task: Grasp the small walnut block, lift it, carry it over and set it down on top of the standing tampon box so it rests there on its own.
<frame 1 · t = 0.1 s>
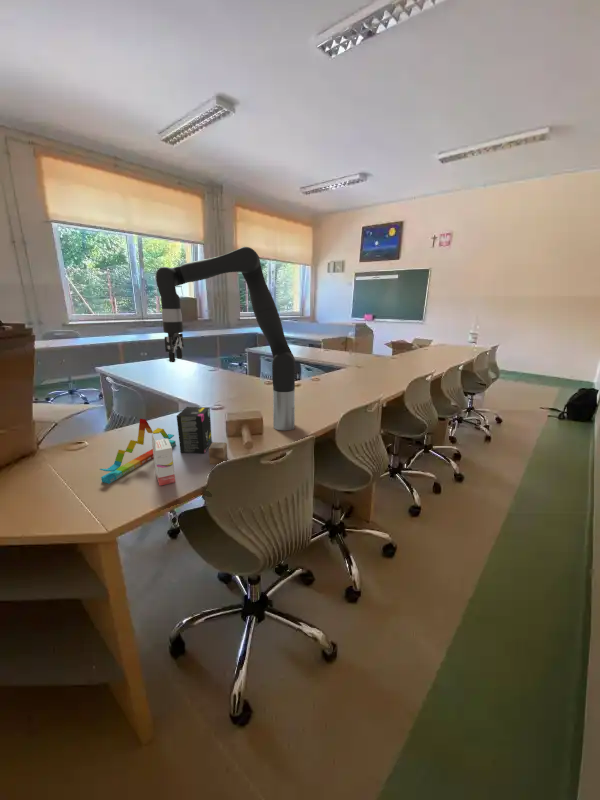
hand: (176, 360, 142), 29 cm above the table, fingers open, 8 cm apart
ink cartridge box: (165, 478, 107), on the table
chart: (143, 462, 118), on the table
walnut block: (218, 461, 119), on the table
tampon box: (196, 447, 129), on the table
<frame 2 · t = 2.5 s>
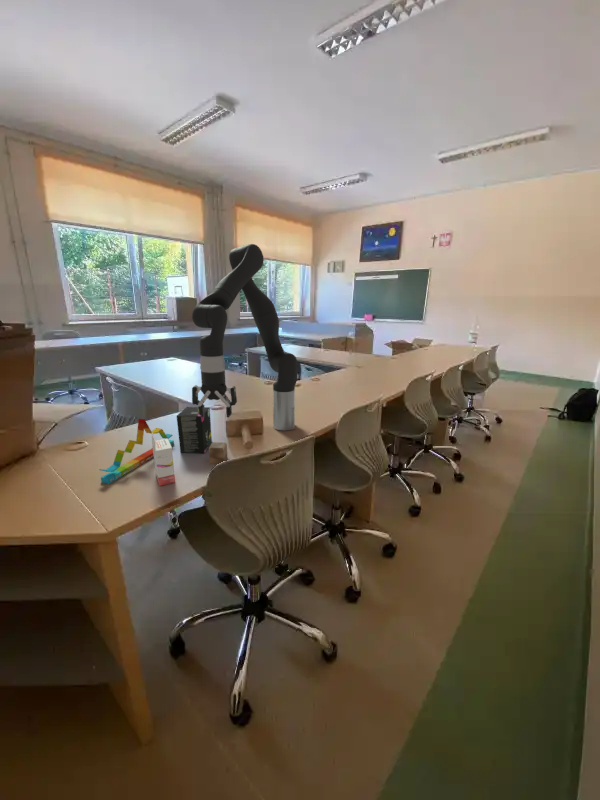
hand: (215, 416, 114), 17 cm above the table, fingers open, 8 cm apart
nothing on the table moved.
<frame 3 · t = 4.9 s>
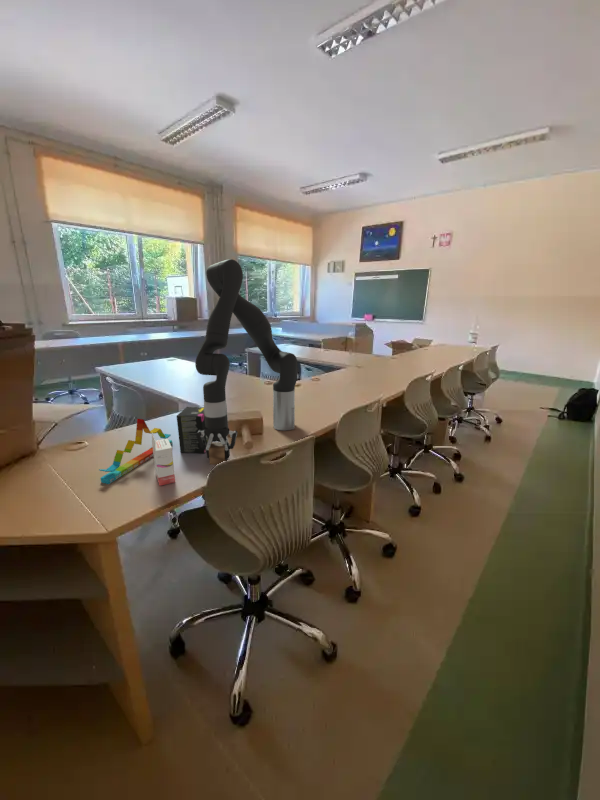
hand: (218, 458, 118), 1 cm above the table, fingers closed on walnut block, 5 cm apart
walnut block: (218, 461, 119), on the table, touching gripper
everything else where it was.
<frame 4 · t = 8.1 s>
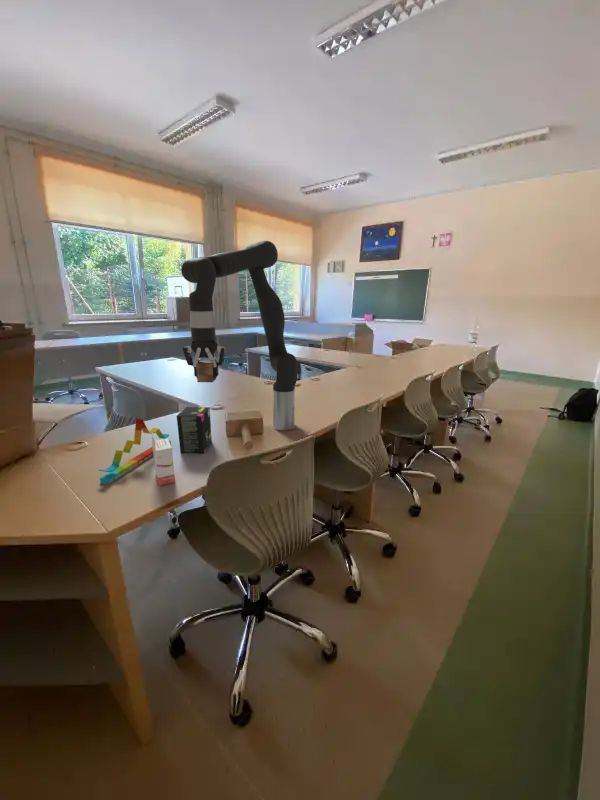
hand: (206, 377, 113), 29 cm above the table, fingers closed on walnut block, 5 cm apart
walnut block: (207, 380, 114), point 28 cm above the table, touching gripper
when the fingers open (17 cm above the table, at t = 11.4 s): walnut block drops 1 cm, resting on tampon box.
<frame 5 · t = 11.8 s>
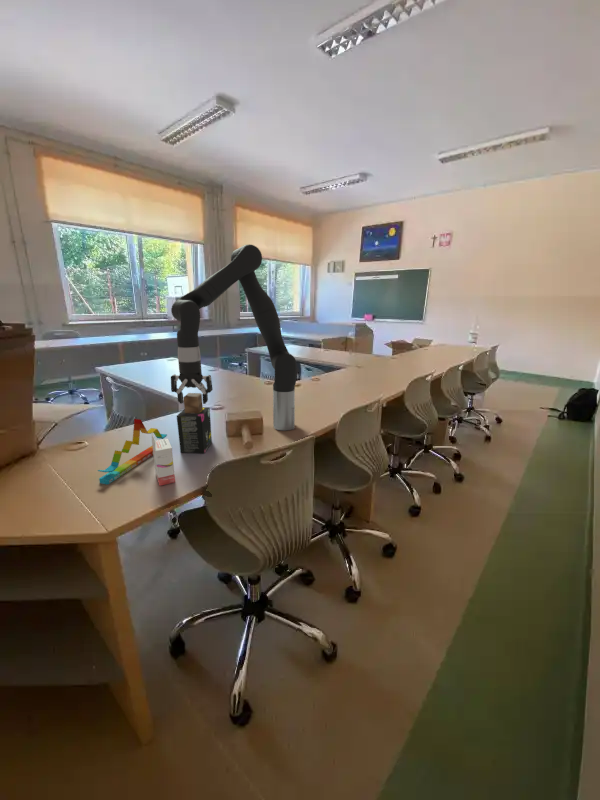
hand: (193, 403, 124), 18 cm above the table, fingers open, 8 cm apart
walnut block: (193, 410, 125), point 15 cm above the table, touching tampon box
tampon box: (196, 447, 129), on the table, touching walnut block
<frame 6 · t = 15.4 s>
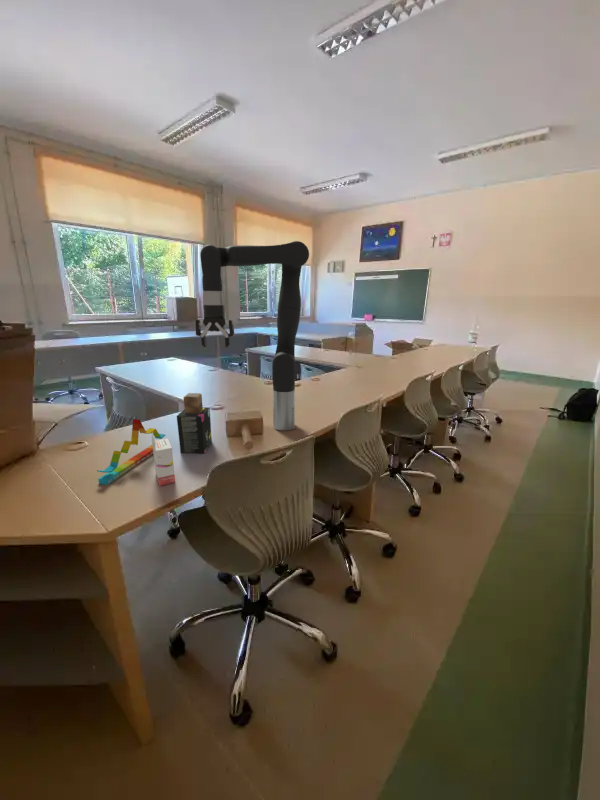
hand: (215, 347, 132), 36 cm above the table, fingers open, 8 cm apart
at the end: walnut block 0.0 cm from the tampon box (horizontally); walnut block point 14.5 cm above the table; walnut block touching tampon box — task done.
